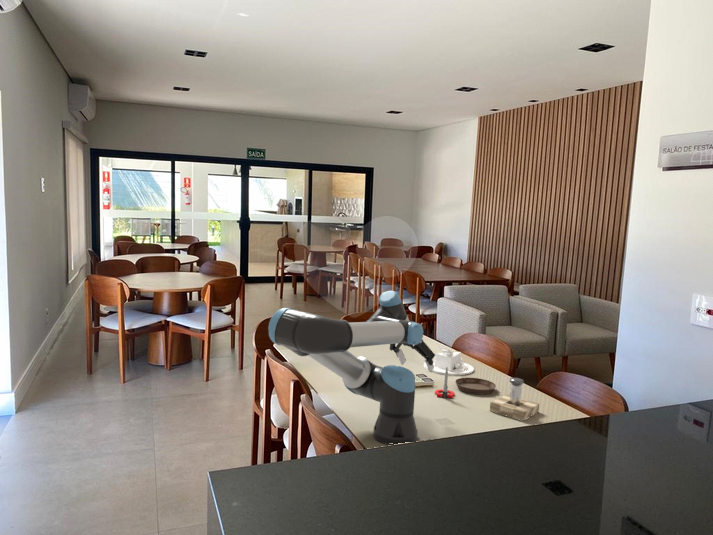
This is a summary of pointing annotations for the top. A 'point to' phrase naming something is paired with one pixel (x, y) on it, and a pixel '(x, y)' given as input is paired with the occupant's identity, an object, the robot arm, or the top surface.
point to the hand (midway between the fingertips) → (417, 366)
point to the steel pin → (515, 391)
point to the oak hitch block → (514, 408)
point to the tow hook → (445, 388)
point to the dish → (450, 363)
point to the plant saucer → (475, 385)
